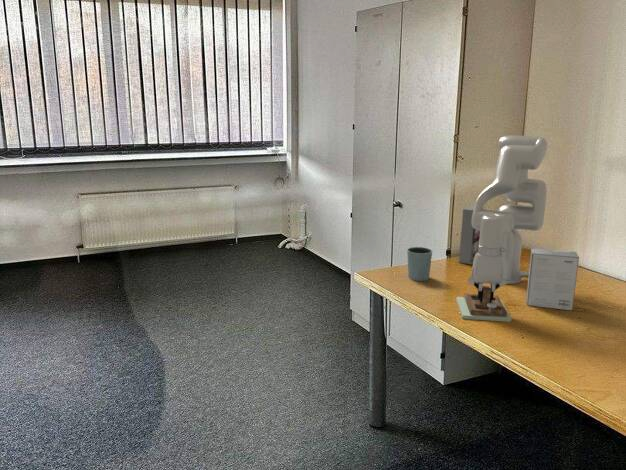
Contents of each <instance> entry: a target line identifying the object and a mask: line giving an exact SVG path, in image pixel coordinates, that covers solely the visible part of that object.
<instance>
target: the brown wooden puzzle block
mask: <svg viewBox="0 0 626 470" xmlns="http://www.w3.org/2000/svg"><path fill="white" fill-rule="evenodd" d="M482 289H483V290H482V291H483V299H482V302H480V301H479V299H478V293H477V294H474V293H473V294H472V293H463V294H464V295H463V297H464V299H465V301H466V304H467V307H468V309H469V312H470V314H475V315H492V316H507V311H508V310H507V308H506V306H505V305H504V306H505V307H504V306H503V304H504V303H503V304H502V302H503V301H502V302H501V300H502V299H501V298H500V297H499V295H493V300H491V303H495V304H497V307H496V308H494V309H490V310H489V307H487V303H490V294H491V289H490V286H489V285H483V286H482ZM472 299H477V300H472ZM476 308H478V309H476ZM505 308H506V309H505ZM483 309H488V310H483ZM506 310H507V311H506Z"/></svg>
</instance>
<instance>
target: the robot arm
mask: <svg viewBox="0 0 626 470" xmlns="http://www.w3.org/2000/svg"><path fill="white" fill-rule="evenodd" d="M497 146H498V147H497V148H498V155H497V161H496V165H495V170H494V174H493V179H492V182H491V183H490V185H488V186H486V187H485V188H483V190H482V191H481V192H480V193H479V194H478V196H477V198H476V199H475V202H474V204H473V205H474V210H473V214H472V226H473V228H475V229H477V230H480V239H479V250H478V252H477V253H476V254H475V257H474V262H473V263H472V269H471V274H470V275H471V276H470V277H469V278H468V280H467V282H468V284H470V285H472V286H474V287H475V288H476V289H477V295H478V299H479V301H480V302H482V299H483V291H482V290H483V289H482V286H484V284H489V285H490V286H489V287H490V289H491V294H490V303H491V300H493V295H494V294H495V292H496V291H497V289H499V288H501V287H503V286H505V285H507V284H508V285H515V284H520V283H521V282H522V280H523V279H522V278H529V272H527V271H524V270H523V271H521V270H520V264H521V255H522V247H523V246H522V245H523V238H522V236H521V234H520V232H519V230H525V231H534V232H535V231H540V230H541V229H542V227H543V225H544V220H545V213H546V211H545V210H546V203H547V194H548V193H547V184H546V182H545V181H544V180H541V179H534V178H529V177H528V176H529V175H528V174H529V170H531V171H532V170H533V171H534V170H537V169H539V167H540V166H541V163H543V160H544V158H545V156H546V153H547V150H548V142H547V140H546V139H545V138H544V137H542V136H532V135H531V136H527V135H504V136H501V137H500V138H499V139H498V144H497ZM502 195H503V198H504V199H505V200H507V201H508V202H515V203H523V204H531V205H523V204H513V203H512V204H510V203H507V204H503V205H501V206H500V207H499V208H498V210H491V209H484V208H483V207H485V205H486V203H487V202H489V201H490V200H492V199H494V198H495V197H499V196H502Z"/></svg>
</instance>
